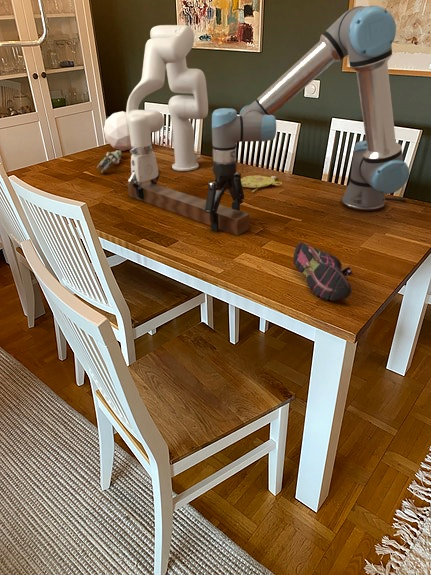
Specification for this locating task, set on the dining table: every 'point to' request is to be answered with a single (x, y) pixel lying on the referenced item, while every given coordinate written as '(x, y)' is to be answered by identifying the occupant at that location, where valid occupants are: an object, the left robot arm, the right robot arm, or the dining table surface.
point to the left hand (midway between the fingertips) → (147, 195)
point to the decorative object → (258, 181)
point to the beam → (191, 207)
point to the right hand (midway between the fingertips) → (225, 225)
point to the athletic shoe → (322, 272)
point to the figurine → (110, 160)
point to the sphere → (117, 131)
